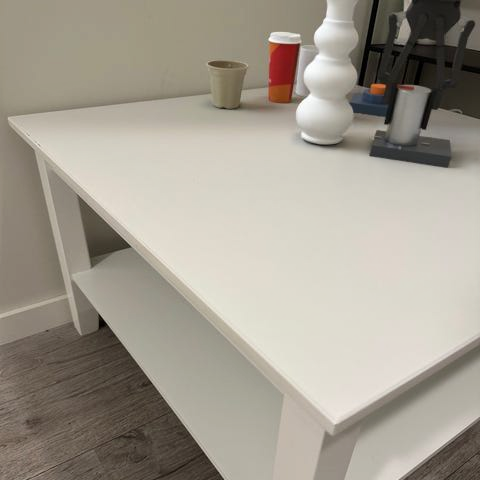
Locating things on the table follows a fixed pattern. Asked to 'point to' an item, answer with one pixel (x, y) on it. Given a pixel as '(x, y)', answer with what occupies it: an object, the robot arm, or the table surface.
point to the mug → (305, 59)
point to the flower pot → (226, 82)
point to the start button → (378, 89)
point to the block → (368, 104)
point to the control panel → (413, 150)
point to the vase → (330, 77)
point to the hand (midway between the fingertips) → (405, 124)
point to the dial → (407, 114)
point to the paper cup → (282, 65)
